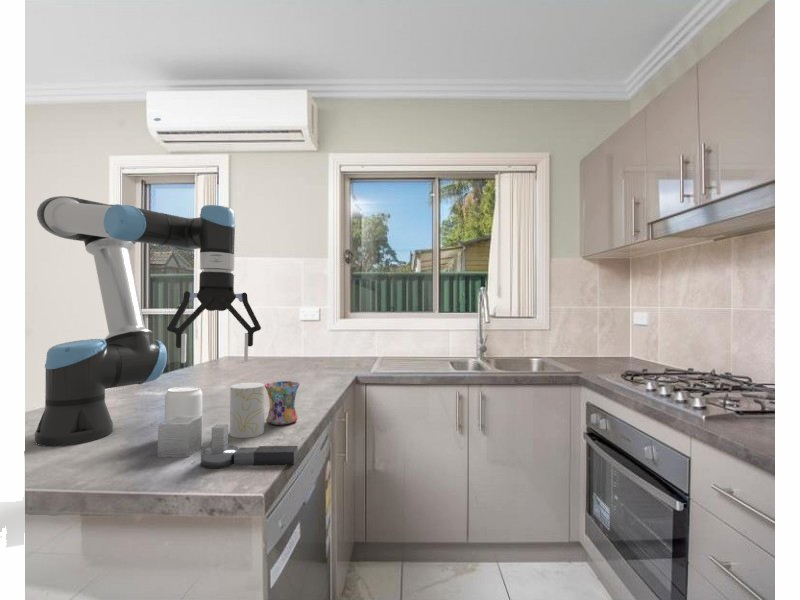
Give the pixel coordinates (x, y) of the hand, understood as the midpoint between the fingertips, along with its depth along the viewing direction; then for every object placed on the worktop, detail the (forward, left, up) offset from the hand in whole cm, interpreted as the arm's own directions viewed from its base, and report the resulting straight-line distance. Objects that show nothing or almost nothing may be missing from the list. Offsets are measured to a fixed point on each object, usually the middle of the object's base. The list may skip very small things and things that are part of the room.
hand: (215, 361), depth 100 cm
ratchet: (+12, -14, -19) cm, 26 cm away
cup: (+5, +7, -19) cm, 21 cm away
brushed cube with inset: (-5, -7, -19) cm, 21 cm away
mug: (+11, +18, -19) cm, 29 cm away
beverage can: (-9, +3, -19) cm, 21 cm away
